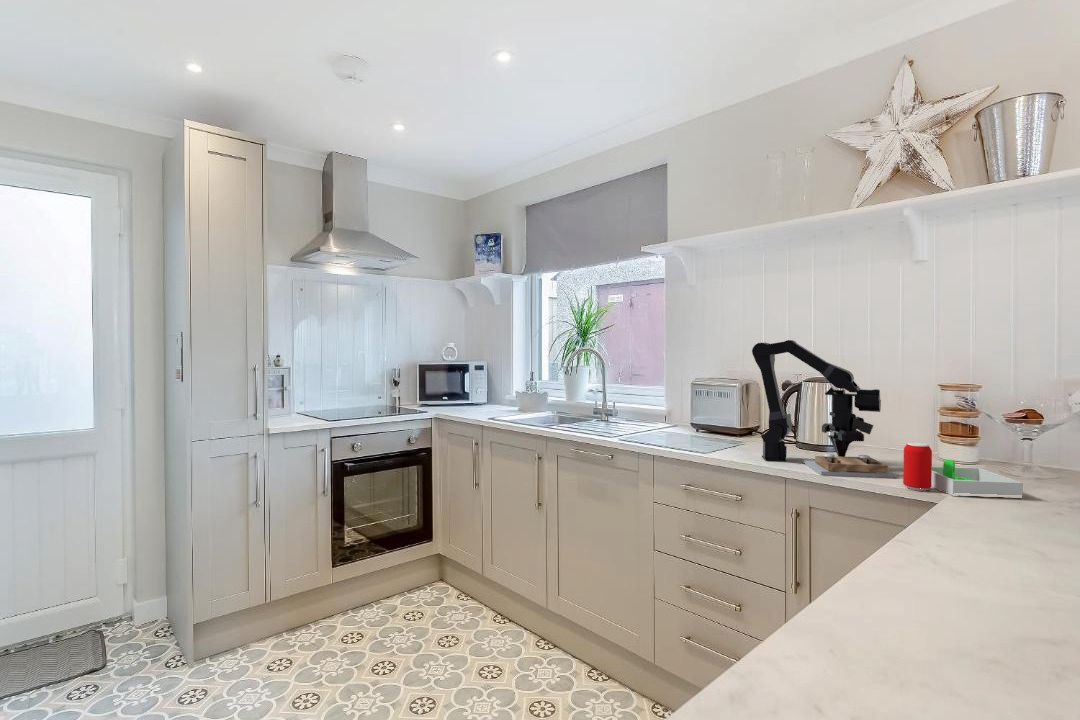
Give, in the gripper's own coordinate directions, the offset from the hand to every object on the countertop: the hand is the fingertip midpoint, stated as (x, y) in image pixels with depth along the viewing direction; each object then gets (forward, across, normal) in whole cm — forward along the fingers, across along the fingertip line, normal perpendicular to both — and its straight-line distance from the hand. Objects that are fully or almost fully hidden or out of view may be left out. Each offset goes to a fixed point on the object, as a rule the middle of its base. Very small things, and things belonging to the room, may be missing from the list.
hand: (841, 459), depth 173 cm
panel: (+1, -7, 0) cm, 7 cm away
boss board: (+2, -4, 0) cm, 5 cm away
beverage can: (+3, -25, -10) cm, 27 cm away
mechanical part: (+3, -22, -22) cm, 31 cm away
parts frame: (+2, -23, -23) cm, 33 cm away
